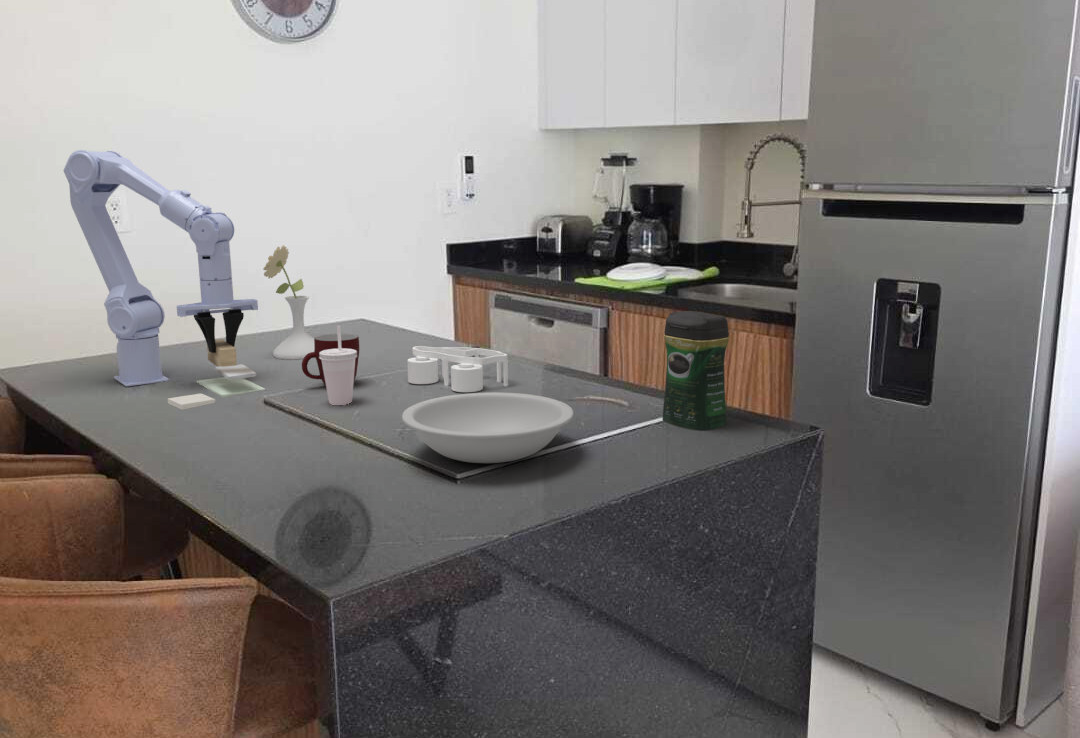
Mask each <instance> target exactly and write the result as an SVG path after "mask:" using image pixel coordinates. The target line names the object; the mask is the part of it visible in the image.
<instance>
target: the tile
mask: <svg viewBox="0 0 1080 738" xmlns="http://www.w3.org/2000/svg"><path fill="white" fill-rule="evenodd" d="M167 404H169V405H170V406H173V407H175V408H177V409H179V410H181V411H182V410H188V409H192V408H193V409H194V408H197V407H201V406H207V405H211V404H216V399H215V398H214V397H212V396H211V397H210V396H208V395H206V394H203V393H202V392H201V393H195V394H188V395H181V396H176V397H170V398H169V397H168V398H167Z"/></svg>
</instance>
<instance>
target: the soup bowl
mask: <svg viewBox="0 0 1080 738" xmlns="http://www.w3.org/2000/svg"><path fill="white" fill-rule="evenodd" d="M574 413H575V412H574V410H573V408H572V407H571V406H570V405H568V404H567V403H565V402H563V401H560V400H557V399H554V398H550V397H547V396H542V395H535V394H530V393H529V394H528V393H517V392H494V391H493V392H467V393H459V394H451V395H446V396H439V397H436V398H435V397H434V398H430V399H427V400H424V401H420V402H417V403H415V404H413V405H411V406H409V407H408V408H406V409H405V410H404V411H403V413H402V415H401V420H402V422H403V424H404V425H406V426H407V427H408V428H411V429H413V430H414V431H415V432H416V433H417V435H418V436H419V437H420V439H421V440H422V441H423V443H425V444H426V445H427V446H428V447H429V448H430V449H432V450H433V451H435V452H436V453H438V454H439V455H441V456H444V457H445V458H448V459H452V460H454V461H455V460H456V461H460V462H465V463H471V464H499V463H507V462H513V461H517V460H521V459H524V458H527V457H530V456H532V455H534V454H535V453H538V452H539V451H541V450H542V449H543V448H545V447H547V446H548V445H549V444H550V442H552V441H553V439H554V438H555V437H556V436H557V434H558V433H559V431H560V430H561V427H563V426H565V425H567V424H568V423H570V422H571V421H572V419H573V417H574V415H575V414H574Z"/></svg>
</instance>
